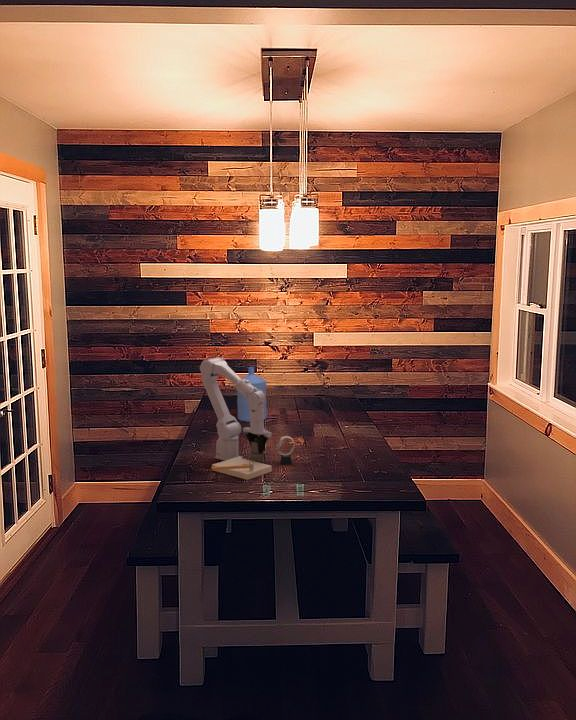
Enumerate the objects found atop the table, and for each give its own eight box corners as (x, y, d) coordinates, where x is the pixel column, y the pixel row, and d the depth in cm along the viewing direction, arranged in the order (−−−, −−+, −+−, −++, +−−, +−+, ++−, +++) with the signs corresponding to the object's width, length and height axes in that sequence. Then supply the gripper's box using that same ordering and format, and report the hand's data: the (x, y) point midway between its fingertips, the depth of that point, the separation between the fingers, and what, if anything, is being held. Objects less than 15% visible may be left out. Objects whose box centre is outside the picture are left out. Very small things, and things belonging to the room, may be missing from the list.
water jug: (266, 422, 362) (265, 369, 358) (236, 422, 363) (235, 369, 359) (267, 415, 378) (266, 365, 374) (238, 415, 378) (237, 365, 374)
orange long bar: (212, 472, 268) (211, 466, 267) (211, 471, 270) (211, 465, 269) (254, 469, 271) (253, 463, 270) (253, 468, 272) (253, 462, 272)
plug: (247, 460, 288) (246, 438, 287) (257, 457, 293) (256, 435, 291) (257, 463, 284) (257, 440, 283) (267, 459, 289) (267, 437, 287)
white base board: (212, 470, 280) (212, 464, 280) (236, 462, 291) (236, 457, 290) (247, 479, 267) (247, 474, 267) (271, 471, 278) (271, 465, 277)
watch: (276, 460, 293) (275, 435, 291) (295, 460, 293) (294, 435, 291) (276, 464, 287) (275, 438, 286) (295, 464, 287) (295, 438, 286)
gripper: (276, 420, 284) (277, 452, 286) (251, 415, 294) (251, 446, 296) (264, 423, 279) (265, 456, 281) (239, 418, 289) (240, 450, 291)
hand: (257, 451), depth 288 cm, fingers closed on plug, 4 cm apart
